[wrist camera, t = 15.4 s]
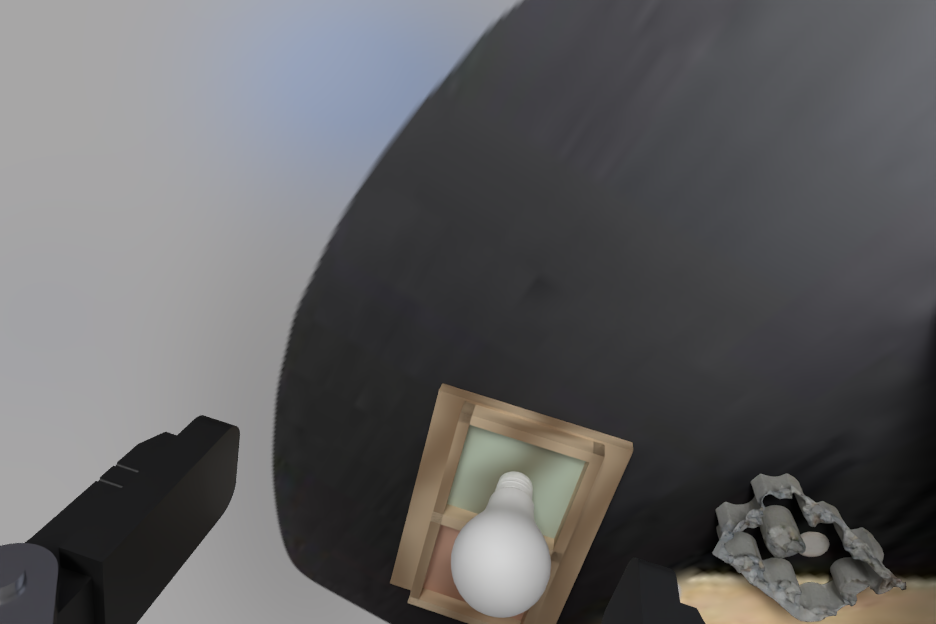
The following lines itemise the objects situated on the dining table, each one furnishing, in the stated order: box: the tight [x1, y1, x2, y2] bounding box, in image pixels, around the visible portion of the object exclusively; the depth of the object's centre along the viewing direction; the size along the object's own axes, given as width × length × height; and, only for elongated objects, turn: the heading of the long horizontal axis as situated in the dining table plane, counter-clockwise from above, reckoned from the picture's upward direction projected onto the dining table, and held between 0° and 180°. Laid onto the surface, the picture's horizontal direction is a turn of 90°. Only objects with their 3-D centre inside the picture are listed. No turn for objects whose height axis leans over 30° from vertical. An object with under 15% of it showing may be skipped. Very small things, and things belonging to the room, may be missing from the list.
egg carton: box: [712, 474, 906, 622], centre depth 42 cm, size 11×8×4 cm
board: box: [390, 383, 633, 624], centre depth 47 cm, size 14×20×2 cm
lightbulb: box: [451, 471, 551, 618], centre depth 40 cm, size 6×6×11 cm
